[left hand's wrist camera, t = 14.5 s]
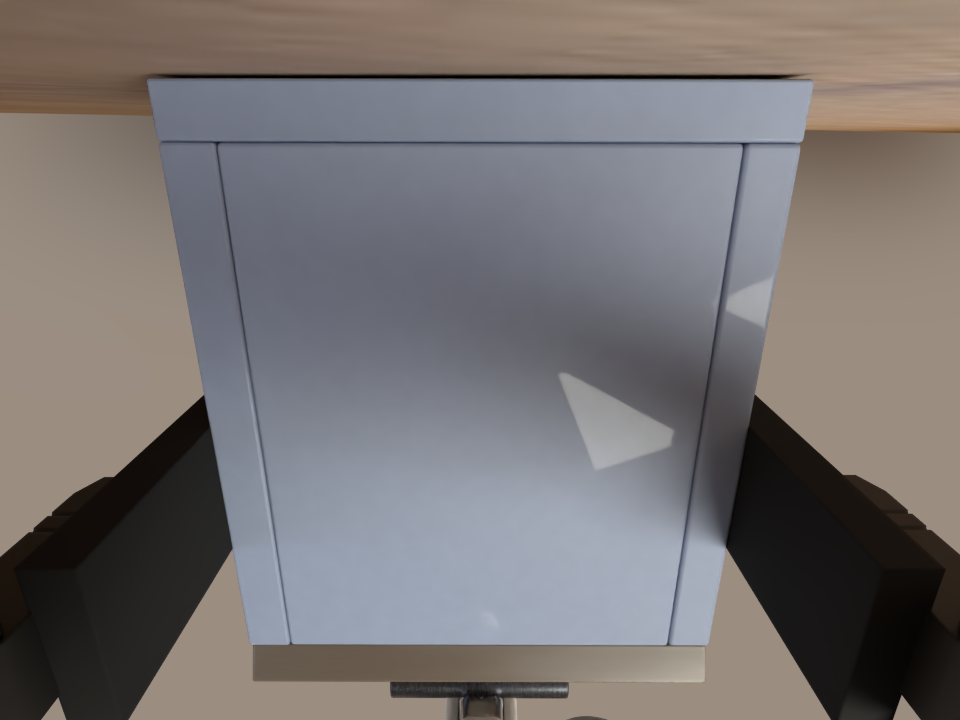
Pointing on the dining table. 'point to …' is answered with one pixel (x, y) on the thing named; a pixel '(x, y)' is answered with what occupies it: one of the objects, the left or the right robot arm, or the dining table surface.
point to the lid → (479, 667)
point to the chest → (479, 344)
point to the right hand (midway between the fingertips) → (481, 681)
